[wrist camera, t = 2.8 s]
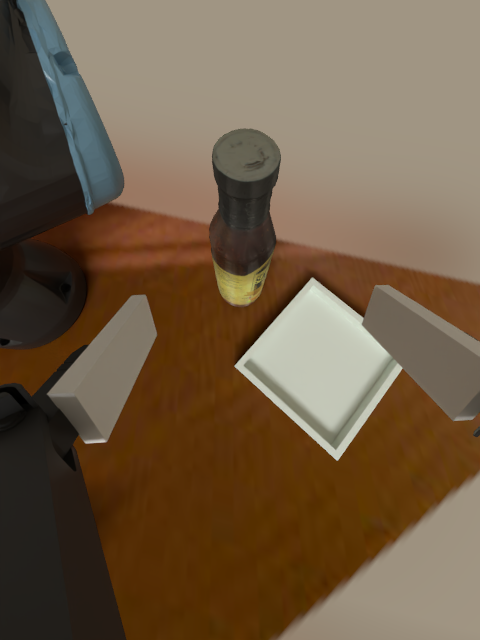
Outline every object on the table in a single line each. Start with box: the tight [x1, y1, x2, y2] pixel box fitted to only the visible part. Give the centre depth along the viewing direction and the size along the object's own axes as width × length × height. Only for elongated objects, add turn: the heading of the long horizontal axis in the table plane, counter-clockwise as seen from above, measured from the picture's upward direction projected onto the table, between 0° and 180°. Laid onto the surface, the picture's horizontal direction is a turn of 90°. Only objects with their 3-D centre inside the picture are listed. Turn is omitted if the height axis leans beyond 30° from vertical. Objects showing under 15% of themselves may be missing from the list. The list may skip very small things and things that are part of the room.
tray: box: [235, 277, 402, 461], centre depth 28 cm, size 16×16×2 cm
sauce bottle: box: [209, 129, 281, 307], centre depth 22 cm, size 6×6×20 cm
